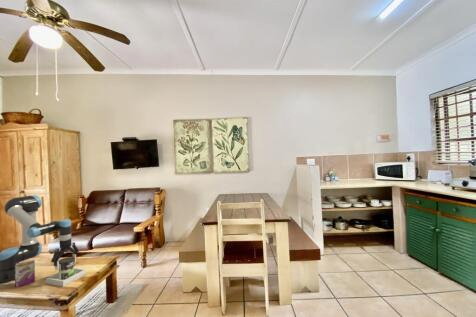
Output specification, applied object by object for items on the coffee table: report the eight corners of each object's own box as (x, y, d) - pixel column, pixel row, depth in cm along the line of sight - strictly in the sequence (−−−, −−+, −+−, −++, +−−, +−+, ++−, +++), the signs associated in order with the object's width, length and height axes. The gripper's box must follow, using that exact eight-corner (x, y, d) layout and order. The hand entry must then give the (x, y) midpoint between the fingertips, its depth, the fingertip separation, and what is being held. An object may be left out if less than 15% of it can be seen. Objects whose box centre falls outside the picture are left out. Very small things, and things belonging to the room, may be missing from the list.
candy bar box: (15, 287, 168) (14, 265, 168) (15, 285, 172) (14, 263, 172) (35, 282, 176) (34, 261, 176) (35, 279, 180) (34, 259, 180)
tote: (46, 283, 173) (45, 278, 173) (69, 271, 191) (69, 267, 191) (63, 286, 168) (63, 281, 168) (85, 274, 186) (85, 269, 186)
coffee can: (78, 274, 184) (77, 257, 184) (66, 281, 174) (65, 263, 174) (67, 273, 186) (67, 256, 186) (55, 280, 176) (54, 262, 176)
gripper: (52, 245, 166) (52, 274, 167) (83, 234, 190) (84, 259, 191) (44, 244, 168) (45, 272, 169) (77, 233, 192) (77, 258, 193)
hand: (65, 265), depth 180 cm, fingers open, 13 cm apart
